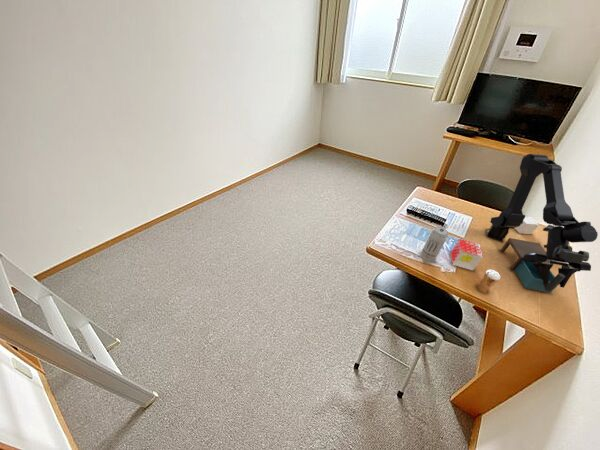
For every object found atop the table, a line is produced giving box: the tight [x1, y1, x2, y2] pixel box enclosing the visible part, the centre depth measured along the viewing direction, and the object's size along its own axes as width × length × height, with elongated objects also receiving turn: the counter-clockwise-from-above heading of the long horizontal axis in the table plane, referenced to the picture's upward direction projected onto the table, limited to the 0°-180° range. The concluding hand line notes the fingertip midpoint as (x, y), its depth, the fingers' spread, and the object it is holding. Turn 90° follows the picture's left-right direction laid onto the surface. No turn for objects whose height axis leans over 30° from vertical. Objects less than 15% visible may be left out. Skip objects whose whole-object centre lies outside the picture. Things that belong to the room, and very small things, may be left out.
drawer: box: [514, 261, 565, 293], centre depth 103 cm, size 14×9×12 cm, turn 169°
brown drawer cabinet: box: [499, 237, 554, 271], centre depth 114 cm, size 12×12×8 cm
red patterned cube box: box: [450, 238, 484, 271], centre depth 111 cm, size 8×8×8 cm
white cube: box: [514, 216, 540, 235], centre depth 133 cm, size 6×6×6 cm
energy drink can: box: [419, 226, 449, 263], centre depth 109 cm, size 6×6×15 cm
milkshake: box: [477, 269, 501, 293], centre depth 99 cm, size 4×5×10 cm
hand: (554, 285), depth 97 cm, fingers open, 5 cm apart
